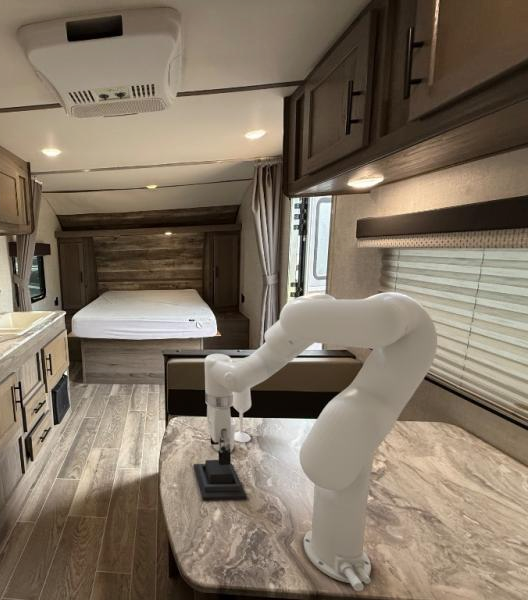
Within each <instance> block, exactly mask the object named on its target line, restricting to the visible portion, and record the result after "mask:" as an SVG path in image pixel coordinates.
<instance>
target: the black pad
mask: <svg viewBox="0 0 528 600" xmlns="http://www.w3.org/2000/svg"><path fill="white" fill-rule="evenodd" d="M204 464H205V472H206V475H207V478H208V481H209V484H233V473H232V471H231V468H230V466H229V465H219V459H205V463H204Z"/></svg>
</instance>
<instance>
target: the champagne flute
mask: <svg viewBox="0 0 528 600" xmlns="http://www.w3.org/2000/svg"><path fill="white" fill-rule="evenodd" d="M251 395H252V394H251V388H250V389H248V390H246V391H244V392H241V393H236V392H233V405H232V407H233V408H234V409H235V410H236V411H237V412H238V413H239V415H238V416H239V417H238V418H239V420H238V423H239V424H238V425H239V427H238V431H235V437H234V441H235V442H238V443H248V442H250V441H251V440H252V439H251V436H250V435H249V434H248V433H246V432H244V413H245V412H247V411H249V410H250V409H251V408H252V396H251Z"/></svg>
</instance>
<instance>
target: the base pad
mask: <svg viewBox="0 0 528 600" xmlns="http://www.w3.org/2000/svg"><path fill="white" fill-rule="evenodd" d="M229 466H230V468H231V471H232V473H233V484H209V481H208V478H207V475H206V472H205V463H193V470H194V473H195V477H196V481H197V484H198V487H199V488H198V489H199V491H200V495H201V499H202V501H227V500H228V501H229V500H234V501H235V500H247V494H246V492H245V490H244V487H243V485H242V484H241V480H240V479H239V476H238V474H237V472H236V470H235V468H234V465H233V463H232V462H231V464H230V465H229Z"/></svg>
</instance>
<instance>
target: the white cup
mask: <svg viewBox="0 0 528 600" xmlns="http://www.w3.org/2000/svg"><path fill="white" fill-rule="evenodd" d="M235 432H236V420H235V418H234V417H232V416H231V441H230V450H231V452H233V450H234V446H235V440H234V437H235ZM221 440H223V438H221ZM221 445H222V447H223V446H224V443H221ZM212 446H213V449H215V450H216V452H218V451H220V450H219V444H218V445H212Z"/></svg>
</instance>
